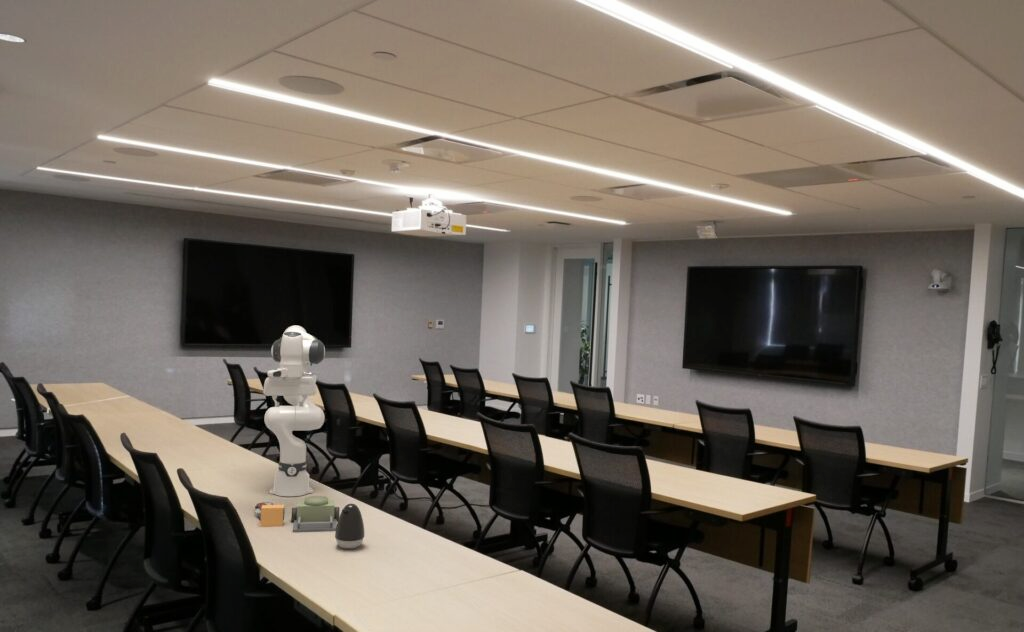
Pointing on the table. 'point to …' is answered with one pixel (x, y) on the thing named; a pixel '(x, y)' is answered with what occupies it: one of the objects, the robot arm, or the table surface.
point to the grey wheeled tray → (315, 515)
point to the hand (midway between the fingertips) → (289, 406)
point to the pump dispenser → (350, 527)
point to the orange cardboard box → (272, 515)
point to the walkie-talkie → (258, 508)
